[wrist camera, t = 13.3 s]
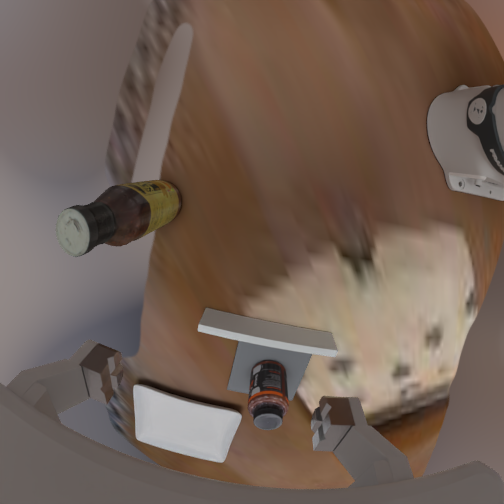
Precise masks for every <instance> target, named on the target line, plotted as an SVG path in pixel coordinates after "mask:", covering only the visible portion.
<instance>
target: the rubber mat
mask: <svg viewBox="0 0 504 504" xmlns="http://www.w3.org/2000/svg"><path fill="white" fill-rule="evenodd" d="M311 356H312V354H309V353H303V352H296V351H290V350H284V349H279V348H273V347H268V346H263V345H257V344H252V343H248V342H243V341H239V342H238V346H237V351H236V355H235V359H234V363H233V367H232V371H231V375H230V379H229V383H228V387H227V390H232V391H237V392H242V393H247V394H249V387H250V376H251V371H252V369H253V367H254V366H255V365H256V364H258V363H260V362H263V361H275V362H278V363H280V364H281V365H282V366H283V367H284V368H285V370H286V375H287V388H288V400H292V399H293V397H294V395H295V393H296V390H297V388H298V386H299V384H300V381H301V379H302V377H303V375H304V372H305V370H306V368H307V365H308V363H309V360H310V358H311Z"/></svg>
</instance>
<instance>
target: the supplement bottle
mask: <svg viewBox="0 0 504 504" xmlns="http://www.w3.org/2000/svg"><path fill="white" fill-rule="evenodd" d="M288 407H289V404H288V388H287V375H286V370H285V368H284V367H283V366H282V365H281V364H280V363H278V362H275V361H263V362H260V363H258V364H256V365H255V366H254V367H253V369H252V371H251V376H250V387H249V399H248V410H249V413H250V414H251V415H252V416H253V417H254V424H255V426H256V427H258V428H260V429H263V430H272V429H276V428H278V427H279V426H280V425H281V424H282V418H283V416H284V415H285V414H286V413H287V411H288Z"/></svg>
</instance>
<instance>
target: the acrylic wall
mask: <svg viewBox="0 0 504 504" xmlns="http://www.w3.org/2000/svg"><path fill="white" fill-rule="evenodd" d="M198 331H199V332H203V333H207V334H211V335H216V336H220V337H224V338H229V339H233V340H238V341H243V342H248V343H252V344H257V345H263V346H268V347H273V348H279V349H284V350H290V351H296V352H303V353H309V354H316V355H323V356H330V357H336V354H337V352H338V349H337V346H336V343H335V341H334V338H333V335H332V333H330V332H324V331H318V330H312V329H307V328H301V327H295V326H290V325H285V324H279V323H274V322H269V321H264V320H259V319H255V318H250V317H245V316H241V315H236V314H232V313H227V312H223V311H218V310H214V309H210V308H206V309H205V311H204V313H203V316H202V318H201V320H200V323H199V326H198Z"/></svg>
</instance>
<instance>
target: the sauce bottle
mask: <svg viewBox="0 0 504 504" xmlns="http://www.w3.org/2000/svg"><path fill="white" fill-rule="evenodd" d="M180 208H181V195H180V193H179V191H178V189H177V188H176V187H175V186H174V185H173V184H171V183H169V182H166V181H162V180H152V181H144V182H136V183H129V184H121V185H115V186H112V187H110V188H108V189H107V190H106V191H105V192H104V193H103V194H101V195H100V196H99V197H98V198H97V199H96V200H95V201H94V202H92V203H90V204H88V205H84V206H80V205H76V206H72V207H70V208H67V209H65V210H64V211H62V213H61V214H60V215H59V217H58V220H57V224H56V236H57V239H58V242H59V244H60V246H61V248H62V249H63V250H64V251H65V252H66V253H67V254H69V255H71V256H73V257H78V256H82V255H84V254H86V253H88V252H89V251H91V250H92V249H93V248H94V247H95V246H97V245H99V244H103V243H105V244H108V245H111V246H122V245H126V244H128V243H129V242H131V241H134V240H137V239H139V238H141V237H143V236H145V235H146V234H148V233H150V232H152V231H154V230H156V229H158V228H160V227H162V226H164V225H166V224H167V223H169V222H170V221H172V220H173V219H174V218H175V217H176V216H177V215H178V213H179V211H180Z"/></svg>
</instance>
